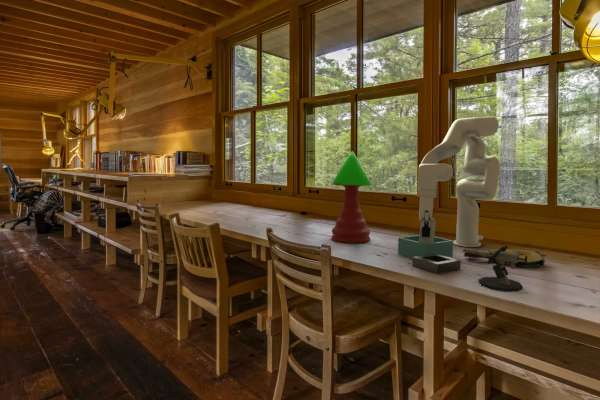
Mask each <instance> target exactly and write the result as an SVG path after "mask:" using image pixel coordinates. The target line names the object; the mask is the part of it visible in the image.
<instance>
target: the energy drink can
mask: <svg viewBox="0 0 600 400" xmlns="http://www.w3.org/2000/svg"><path fill="white" fill-rule="evenodd" d="M435 219H436V218H435V217H432V220H431V221H430V237H422V227H423V220H421V221H420V225H419V242H421V243H425V244H429V243H434V237H436V236H435V234H436V227H437V226H436V223H437V222H436V220H435ZM424 220H425V219H424ZM428 220H429V219H428Z"/></svg>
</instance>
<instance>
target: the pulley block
mask: <svg viewBox="0 0 600 400" xmlns="http://www.w3.org/2000/svg"><path fill="white" fill-rule="evenodd" d="M499 249H500V248H492V249H489V250H488V253H489V254H492V253H495V252H497V251H498V250H499ZM477 251H478V252H481V251H480V250H477ZM483 252H484V253H487V252H486V251H483ZM505 252H509V253H515V254H520V255H519V258H523V259H525V256H527V264H525V261H524V260H519V262H517V263H515V269H516V268H517V269H518V268H520V269H529V270H530V269H532V270H533V269H534V270H535V269H539V268H542V267H545V268H550V266H547V265H545V263H546V259H545V257H546V256H547V254H542V253H541V252H539V251H538V250H537V251H532V250H526V249H525V250H524V249H510V248H509V249H508V248H507V249H506V250H505ZM463 253H464V254H463V257H465V258H473V259H488V260H489V259H490V256H484V255H479V254H473V253H468V252H463ZM493 263H494V264H499V260H498V259H496V260H495V261H493V262H492V264H493ZM504 265H505V266H508V267H511V262H509V261H505V264H504Z"/></svg>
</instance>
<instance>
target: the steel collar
mask: <svg viewBox="0 0 600 400" xmlns="http://www.w3.org/2000/svg"><path fill="white" fill-rule="evenodd" d="M461 261H462V260H461V259H459V258H458V259H457V258H454V257H451V258H450V257H446V256H443V255H439V254H429V255H422V256H416V257H413V258H412V267H415V268H418V269H420V270H423V271H426V272H429V273H433V274H436V275H439V274H444V273H445V274H446V273H449V272H455V271H460V270H461Z"/></svg>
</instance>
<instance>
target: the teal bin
mask: <svg viewBox="0 0 600 400" xmlns="http://www.w3.org/2000/svg"><path fill="white" fill-rule="evenodd" d="M453 241H454V240H452V239H447V238H444V237H439V236H434V243H429V244H425V243H421V242H419V235H418V234H416V235H410V236H401V237H398V240H397V243H398V244H397V245H398V246H397V254H399V255H402V256H405V257H409V258H411V259H413V257H416V256H422V255H429V254H439V255H443V256H446V257H450V258H454V257H453V256H454V255H453V254H454V244H453Z"/></svg>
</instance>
